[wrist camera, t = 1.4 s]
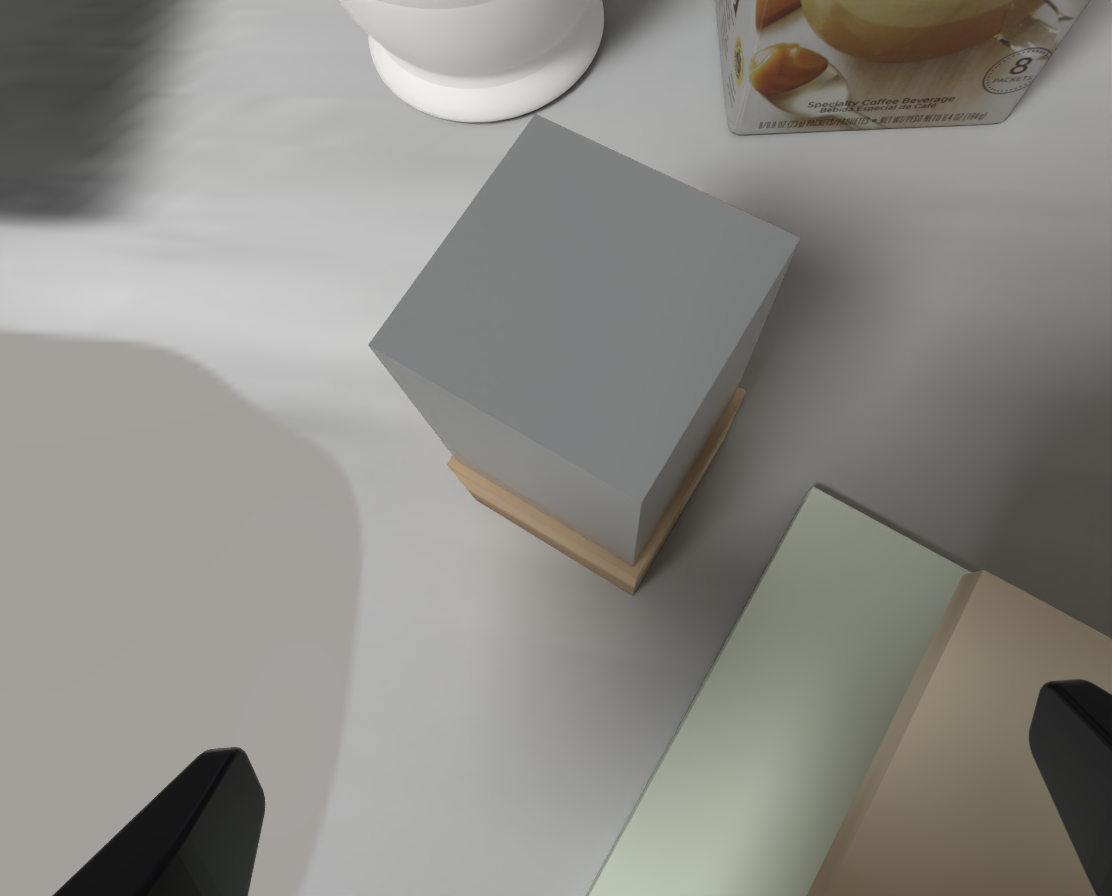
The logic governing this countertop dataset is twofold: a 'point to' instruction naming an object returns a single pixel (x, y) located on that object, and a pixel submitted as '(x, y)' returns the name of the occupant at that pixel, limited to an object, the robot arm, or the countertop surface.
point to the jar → (480, 52)
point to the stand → (786, 714)
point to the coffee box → (882, 61)
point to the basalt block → (585, 331)
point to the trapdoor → (970, 760)
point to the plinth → (577, 544)
